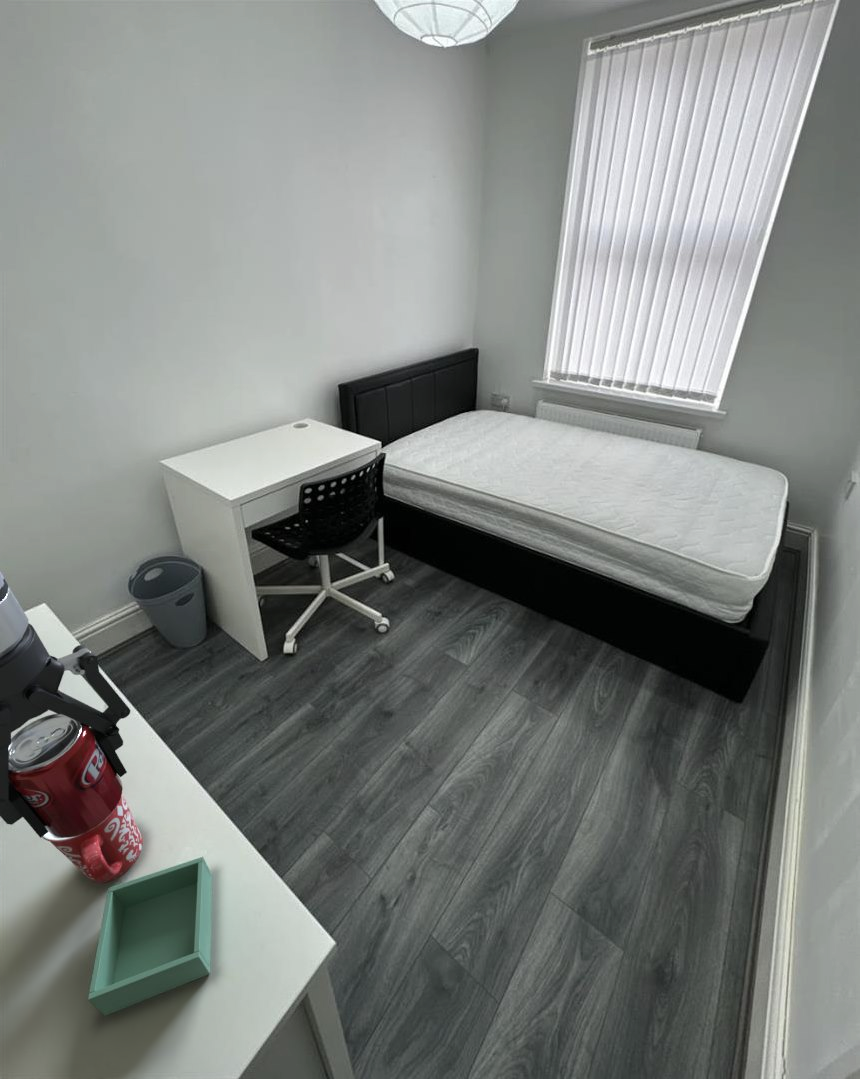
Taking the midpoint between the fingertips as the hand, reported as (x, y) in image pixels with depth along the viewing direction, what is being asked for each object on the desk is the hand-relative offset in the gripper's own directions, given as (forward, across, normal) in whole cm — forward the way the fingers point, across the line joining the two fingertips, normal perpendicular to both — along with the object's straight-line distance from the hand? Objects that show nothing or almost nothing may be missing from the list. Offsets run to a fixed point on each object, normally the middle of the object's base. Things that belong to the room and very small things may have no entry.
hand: (80, 795), depth 52 cm
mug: (+24, -1, +7) cm, 25 cm away
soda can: (+2, 0, 0) cm, 2 cm away
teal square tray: (+24, -1, -7) cm, 25 cm away
